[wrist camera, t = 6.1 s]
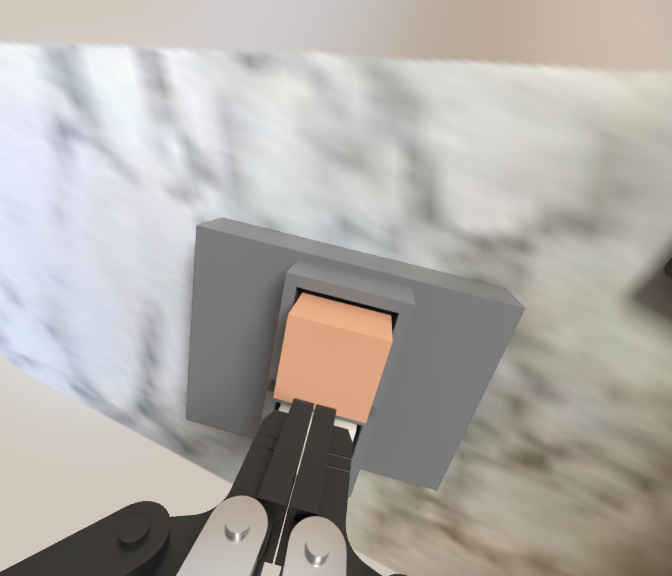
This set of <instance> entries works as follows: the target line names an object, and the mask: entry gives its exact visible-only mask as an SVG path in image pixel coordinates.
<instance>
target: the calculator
mask: <svg viewBox="0 0 672 576" xmlns="http://www.w3.org/2000/svg"><path fill="white" fill-rule="evenodd" d="M664 271H665V273H666V274H667V275H669V276H670V277H672V259H671V260H670V261H669V262H668V263H667V264H666V266H665V268H664Z"/></svg>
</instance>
